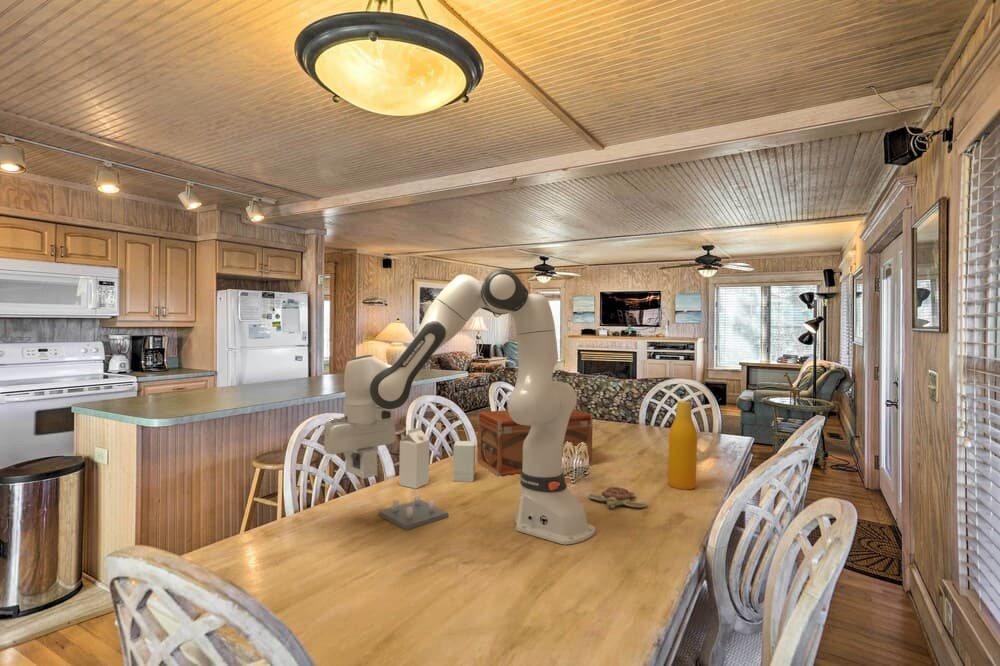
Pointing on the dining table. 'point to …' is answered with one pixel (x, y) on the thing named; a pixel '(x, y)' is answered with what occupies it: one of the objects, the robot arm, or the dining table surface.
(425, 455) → the milk carton
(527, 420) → the robot arm
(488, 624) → the dining table surface
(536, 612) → the dining table surface
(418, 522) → the pin tray
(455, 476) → the supplement box
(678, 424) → the beer bottle
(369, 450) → the block
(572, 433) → the wooden box
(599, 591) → the dining table surface
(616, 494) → the decorative turtle
